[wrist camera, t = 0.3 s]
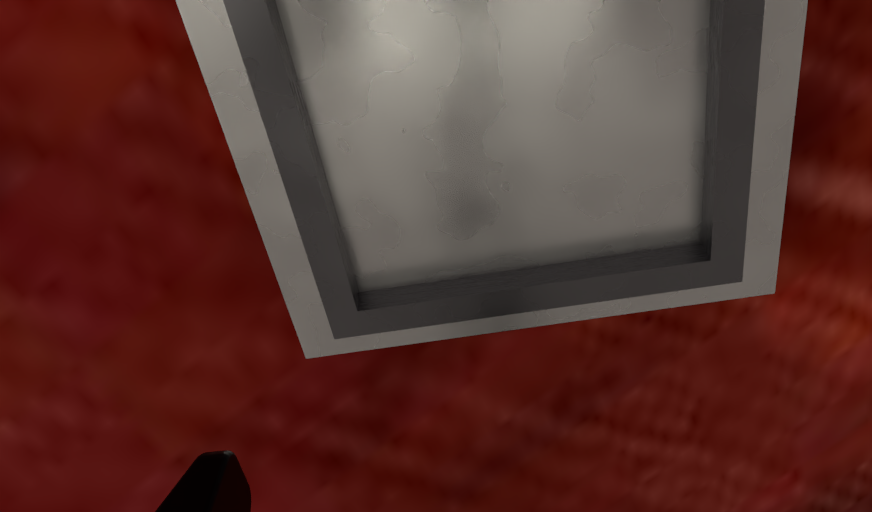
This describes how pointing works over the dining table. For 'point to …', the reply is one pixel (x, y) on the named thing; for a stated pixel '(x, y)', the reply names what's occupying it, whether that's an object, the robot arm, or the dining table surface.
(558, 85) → the press bed
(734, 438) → the dining table surface
